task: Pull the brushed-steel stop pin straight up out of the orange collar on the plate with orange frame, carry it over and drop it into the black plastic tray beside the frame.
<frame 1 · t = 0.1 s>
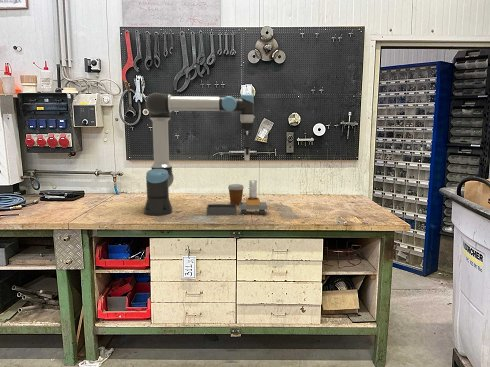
hand: (246, 159, 218), 28 cm above the table, tool pointing down, fingers open, 13 cm apart
stop pin: (252, 204, 206), point 5 cm above the table, touching plate with orange frame
pin tray: (221, 213, 206), on the table
disposable coffee cup: (235, 205, 227), on the table
plate with orange frame: (252, 213, 207), on the table
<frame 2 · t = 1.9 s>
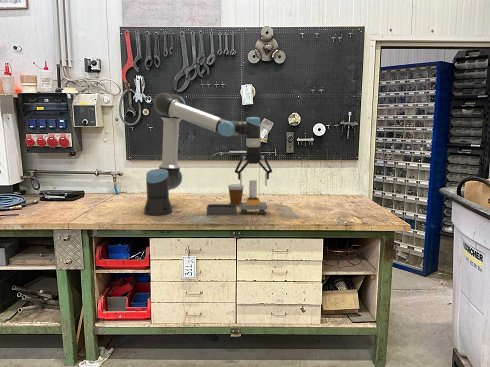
hand: (253, 185, 204), 15 cm above the table, tool pointing down, fingers open, 13 cm apart
nothing on the table moved.
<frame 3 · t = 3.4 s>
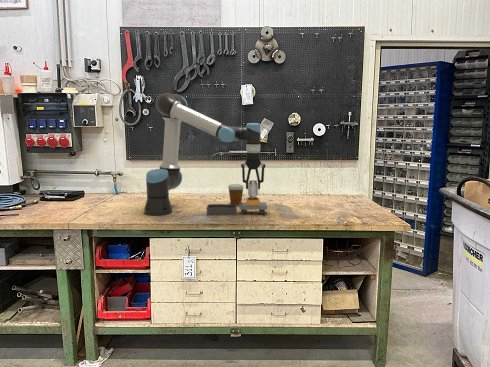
hand: (252, 194, 205), 10 cm above the table, tool pointing down, fingers closed on stop pin, 4 cm apart
stop pin: (252, 204, 206), point 5 cm above the table, touching gripper, plate with orange frame
everything else where it was.
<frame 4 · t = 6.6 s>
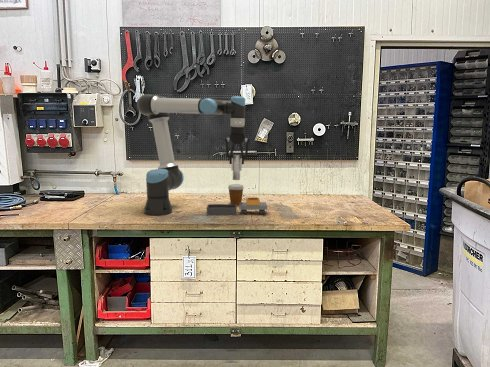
hand: (236, 170, 203), 24 cm above the table, tool pointing down, fingers closed on stop pin, 4 cm apart
stop pin: (236, 179, 204), point 19 cm above the table, touching gripper
everything else where it was.
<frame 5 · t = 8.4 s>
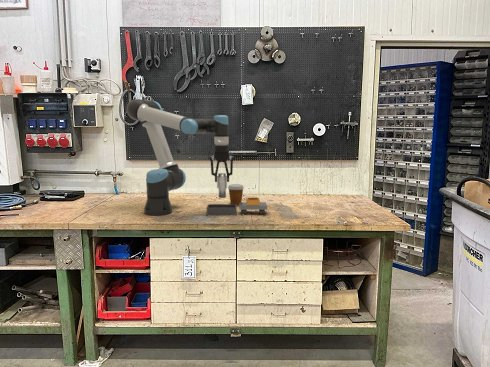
hand: (222, 187, 204), 14 cm above the table, tool pointing down, fingers closed on stop pin, 4 cm apart
stop pin: (222, 197, 205), point 9 cm above the table, touching gripper
everything else where it was.
when the fingers open (7 cm above the table, at t = 9.8 s): stop pin drops 1 cm, resting on pin tray.
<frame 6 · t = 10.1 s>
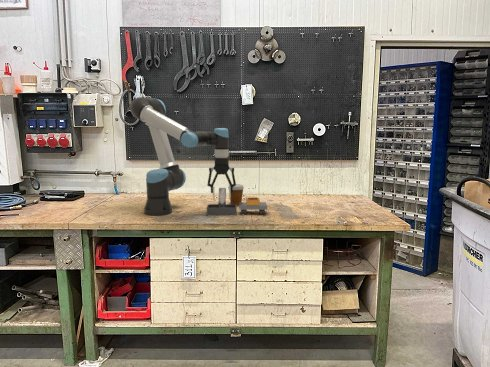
hand: (221, 198, 205), 8 cm above the table, tool pointing down, fingers open, 8 cm apart
stop pin: (221, 211, 206), point 1 cm above the table, touching pin tray
everything else where it was.
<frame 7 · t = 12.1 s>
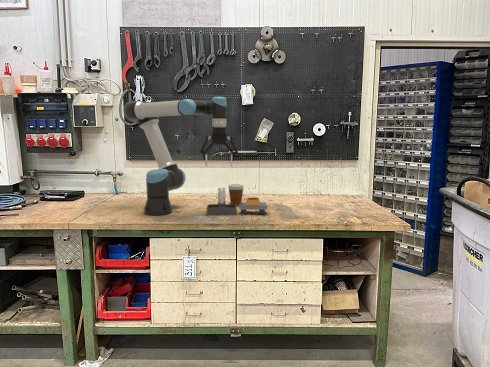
hand: (218, 166, 203), 26 cm above the table, tool pointing down, fingers open, 13 cm apart
nothing on the table moved.
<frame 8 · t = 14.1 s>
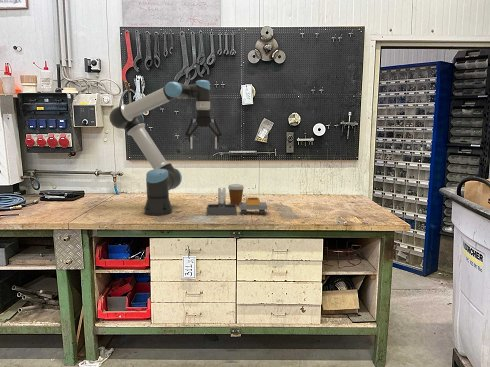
hand: (203, 148, 209), 35 cm above the table, tool pointing down, fingers open, 13 cm apart
nothing on the table moved.
at the end: stop pin inside the target area on the pin tray (0.0 cm from its centre), point 0.8 cm above the pin tray's base; the gripper is holding nothing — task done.
